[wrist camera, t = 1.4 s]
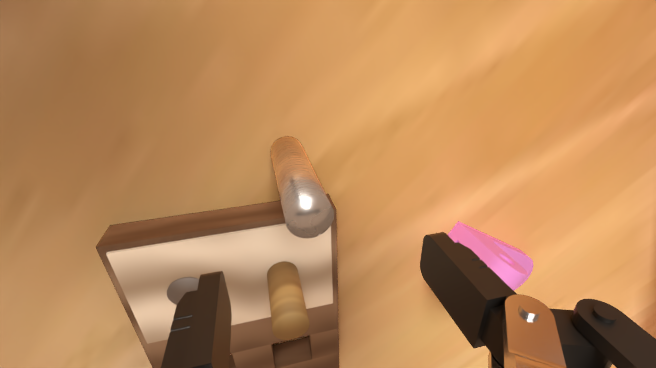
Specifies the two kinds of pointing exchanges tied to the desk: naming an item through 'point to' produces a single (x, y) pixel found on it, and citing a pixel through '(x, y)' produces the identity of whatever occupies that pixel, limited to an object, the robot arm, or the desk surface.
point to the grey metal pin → (300, 190)
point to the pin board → (232, 282)
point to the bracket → (495, 254)
